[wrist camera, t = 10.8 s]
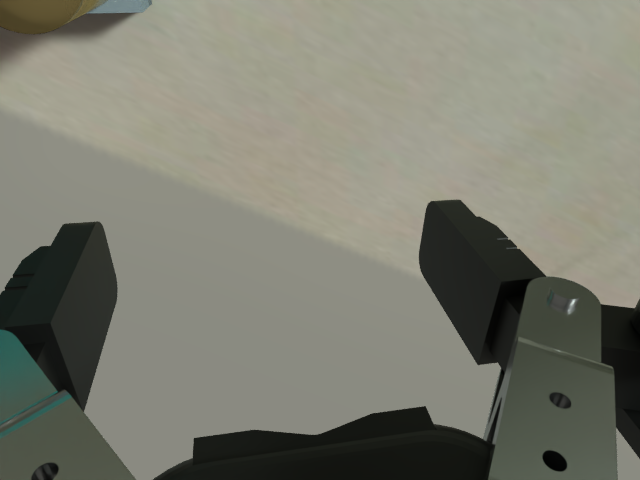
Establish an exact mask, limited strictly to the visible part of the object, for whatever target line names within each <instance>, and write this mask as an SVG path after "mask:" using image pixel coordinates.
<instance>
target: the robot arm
mask: <svg viewBox="0 0 640 480" xmlns="http://www.w3.org/2000/svg"><path fill="white" fill-rule="evenodd" d="M419 264H420V269H421V272H422V274H423V276H424V278H425V280H426V281H427V283H428V285H429V286H430V287H431V289H432V291H433V293H434V294H435V296H436V297H437V299H438V301H439V302H440V304H441V306H442V307H443V309H444V311H445V312H446V314H447V315H448V317H449V319H450V320H451V322H452V324H453V325H454V327H455V328H456V330H457V332H458V333H459V335H460V337H461V338H462V340H463V341H464V343H465V345H466V346H467V348H468V350H469V351H470V353H471V354H472V356H473V358H474V360H475V361H476V363H477V364H478V365H480V364H489V363H497V362H498V363H499V365H500V366H501V370H500V373H499V376H498V380H497V384H496V388H495V392H494V396H493V400H492V404H491V408H490V413H489V417H488V421H487V425H486V429H485V433H484V437H483V439H481V438H479V437H477V436H475V435H472V434H470V433H468V432H465V431H462V430H459V429H455V428H452V427H447V426H442V425H436V424H433V422H432V420H431V418H430V415H429V413H428V411H427V409H426V407H425V406H424V407H417V408H409V409H402V410H395V411H388V412H380V413H373V414H370V415H367V416H365V417H362V418H360V419H357V420H355V421H352V422H350V423H347V424H345V425H342V426H340V427H337V428H335V429H332V430H330V431H327V432H325V433H322V434H318V435H305V434H295V433H283V432H273V431H261V430H250V431H243V432H235V433H228V434H221V435H213V436H207V437H199V438H194V446H193V458H192V459H189V460H187V461H184V462H182V463H180V464H178V465H176V466H174V467H172V468H170V469H168V470H167V471H165V472H164V473H162V474H161V475H159V476H157V477H156V478H154V479H153V480H618V475H617V444H616V428H617V429H618V430H619V432H620V433H621V434H622V436H623V437H624V438H625V440H626V441H627V442H628V444H629V445H630V446H631V447H632V449H633V450H634V452H635V453H636V454H637V456H638V457H639V458H640V299H639V301H638V303H637V305H636V307H635V308H627V307H618V306H610V305H602V304H600V302H599V300H598V298H597V297H596V296H595V295H594V294H593V293H592V292H591V291H590V290H588V289H587V288H585V287H584V286H582V285H580V284H578V283H575V282H573V281H570V280H567V279H563V278H558V277H546V276H545V275H544V274H543V272H542V271H541V270H540V269H539V268H538V267H537V266H536V265H535V264H534V263H533V262H532V261H531V260H530V259H529V258H528V257H527V256H526V255H525V254H524V253H523V252H522V251H521V250H520V249H517V246H516V245H515V244H514V243H513V242H512V241H511V240H508V237H507V236H506V235H505V234H504V233H503V232H502V231H501V230H500V229H499V228H498V227H497V226H496V225H494V224H492V223H490V222H489V221H487V220H485V219H483V218H481V217H476V216H475V215H474V214H473V213H472V212H471V211H470V210H469V209H468V207H467V206H466V205H465V204H464V203H463V202H462V201H461V200H443V201H431V202H430V203H429V204H428V206H427V208H426V213H425V219H424V225H423V232H422V238H421V244H420V250H419ZM116 301H117V280H116V274H115V271H114V267H113V263H112V259H111V255H110V251H109V247H108V243H107V239H106V235H105V232H104V228H103V226H102V224H101V223H100V222H85V223H69V224H64V225H63V226H62V227H61V229H60V230H59V232H58V234H57V236H56V237H55V239H54V241H53V243H52V245H51V246H42V247H39V248H38V249H37V250H35V251H34V252H33V253H31V254H30V255H29V256H27V257H26V258H25V259H23V260H22V261H21V263H20V265H19V266H18V268H17V269H16V271H15V273H14V274H13V278H11V279H10V280H9V282H8V283H7V285H6V287H5V291H3V292H2V293H1V295H0V480H136V479H135V478H134V476H133V475H132V474H131V473H130V471H129V470H128V469H127V467H126V466H125V465H124V464H123V462H122V461H121V460H120V458H119V457H118V456H117V454H116V453H115V452H114V451H113V449H112V448H111V447H110V445H109V444H108V443H107V442H106V440H105V439H104V438H103V437H102V435H101V434H100V433H99V431H98V430H97V429H96V428H95V426H94V425H93V424H92V422H91V421H90V420H89V418H88V417H87V416H86V415H85V413H84V409H85V406H86V403H87V399H88V396H89V393H90V388H91V385H92V382H93V379H94V376H95V372H96V369H97V366H98V362H99V359H100V355H101V352H102V349H103V345H104V342H105V338H106V335H107V332H108V328H109V325H110V322H111V318H112V314H113V311H114V308H115V305H116Z"/></svg>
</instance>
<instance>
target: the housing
mask: <svg viewBox="0 0 640 480" xmlns="http://www.w3.org/2000/svg"><path fill="white" fill-rule="evenodd" d="M151 4H152V1H151V0H108V1H107V2H105V3H104V4H102V5H100V6H99V7H97V8H95V9H93V10H91V11H89V12H87V13H135V12H144V11H145V10H146V9H147V8H148V7H149V6H150V5H151ZM85 14H86V13H85Z"/></svg>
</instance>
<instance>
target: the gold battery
mask: <svg viewBox="0 0 640 480" xmlns="http://www.w3.org/2000/svg"><path fill="white" fill-rule="evenodd" d="M107 1H108V0H0V27H2V28H5V29H7V30H11V31H14V32H18V33H24V34H41V33H46V32H50V31H52V30H55V29H57V28H59V27H61V26H63V25H65V24H67V23H68V22H70V21H72V20H74V19H76V18H78V17H80V16H82V15H84V14H85V13H87V12H89V11H91V10H93V9H95V8H97V7H99V6H100V5H102V4H104V3H105V2H107Z"/></svg>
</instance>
